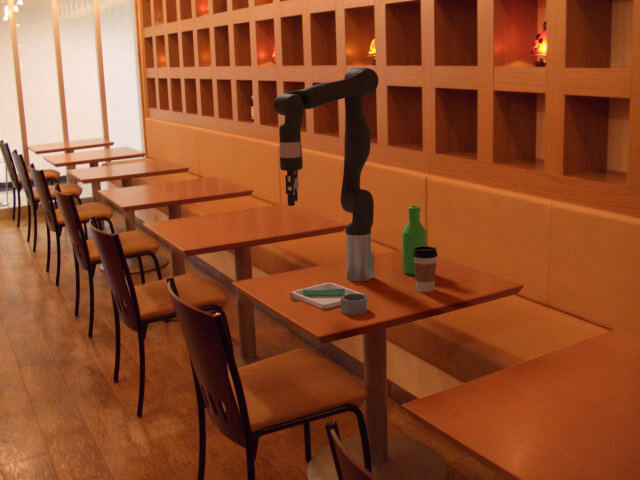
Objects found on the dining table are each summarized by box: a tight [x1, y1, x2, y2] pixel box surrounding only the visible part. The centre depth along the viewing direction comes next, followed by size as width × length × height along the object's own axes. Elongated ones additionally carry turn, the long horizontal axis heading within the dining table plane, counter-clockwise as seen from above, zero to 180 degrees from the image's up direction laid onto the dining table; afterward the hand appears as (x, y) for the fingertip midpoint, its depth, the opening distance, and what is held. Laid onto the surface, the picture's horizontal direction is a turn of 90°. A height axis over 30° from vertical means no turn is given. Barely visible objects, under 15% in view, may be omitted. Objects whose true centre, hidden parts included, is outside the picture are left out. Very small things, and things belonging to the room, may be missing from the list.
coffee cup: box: [413, 245, 438, 293], centre depth 270 cm, size 8×8×15 cm
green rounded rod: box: [302, 288, 345, 296], centre depth 266 cm, size 2×2×14 cm
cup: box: [340, 292, 369, 316], centre depth 249 cm, size 8×8×6 cm
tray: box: [289, 281, 366, 311], centre depth 264 cm, size 17×19×2 cm
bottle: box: [401, 205, 427, 276], centre depth 290 cm, size 9×9×25 cm
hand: (292, 203), depth 264 cm, fingers open, 8 cm apart
